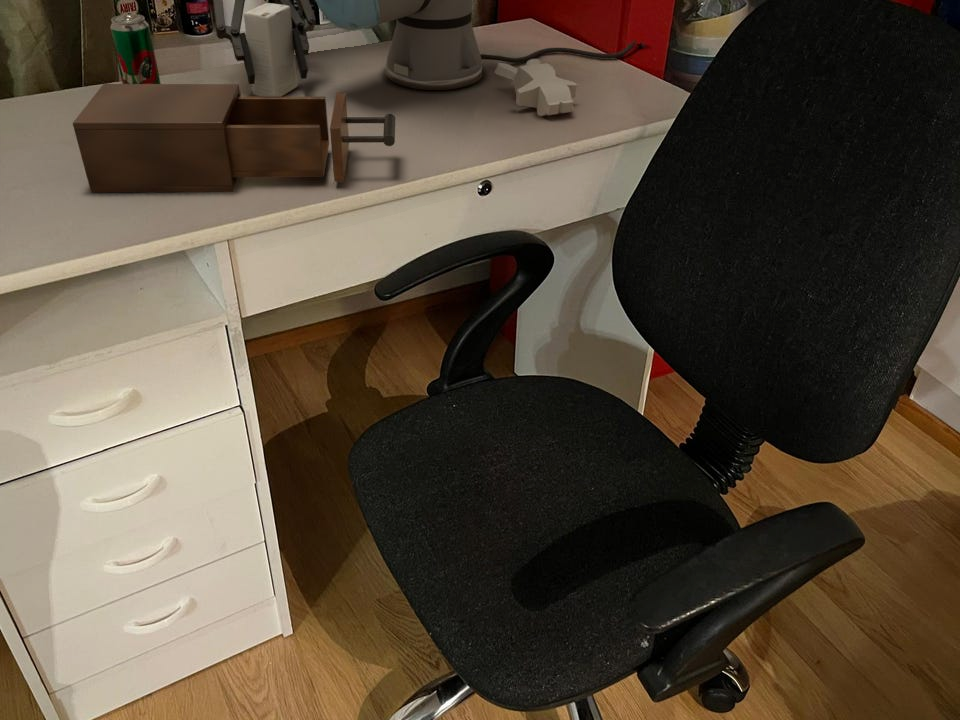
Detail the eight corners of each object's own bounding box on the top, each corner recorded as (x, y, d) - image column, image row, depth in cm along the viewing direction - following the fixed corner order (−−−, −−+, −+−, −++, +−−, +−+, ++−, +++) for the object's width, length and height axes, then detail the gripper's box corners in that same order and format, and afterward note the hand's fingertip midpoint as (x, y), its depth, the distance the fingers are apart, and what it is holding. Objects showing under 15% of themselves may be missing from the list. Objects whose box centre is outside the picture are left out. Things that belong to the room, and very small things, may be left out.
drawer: (396, 143, 114) (394, 92, 110) (395, 181, 105) (393, 127, 100) (229, 144, 112) (221, 92, 108) (213, 182, 103) (204, 128, 99)
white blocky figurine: (533, 97, 120) (489, 51, 129) (529, 130, 123) (486, 83, 133) (592, 88, 123) (545, 45, 133) (586, 121, 126) (541, 76, 136)
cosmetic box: (274, 83, 133) (264, 1, 125) (300, 87, 131) (291, 4, 124) (252, 96, 128) (240, 11, 121) (277, 101, 127) (267, 15, 120)
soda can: (169, 99, 126) (153, 14, 119) (156, 112, 122) (138, 24, 115) (136, 97, 127) (117, 12, 119) (121, 109, 123) (101, 22, 115)
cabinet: (248, 148, 113) (239, 83, 108) (233, 191, 103) (222, 122, 98) (119, 149, 112) (103, 83, 107) (91, 192, 102) (72, 122, 97)
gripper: (307, -57, 134) (342, 81, 132) (175, -50, 128) (208, 96, 126) (312, -89, 127) (348, 57, 125) (172, -82, 121) (208, 71, 118)
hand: (278, 76), depth 125 cm, fingers closed on cosmetic box, 7 cm apart
